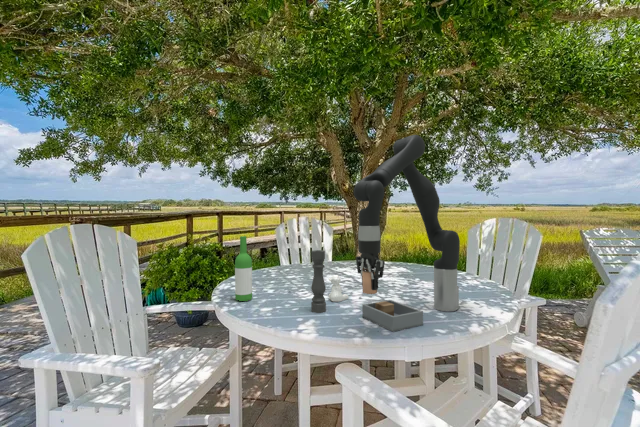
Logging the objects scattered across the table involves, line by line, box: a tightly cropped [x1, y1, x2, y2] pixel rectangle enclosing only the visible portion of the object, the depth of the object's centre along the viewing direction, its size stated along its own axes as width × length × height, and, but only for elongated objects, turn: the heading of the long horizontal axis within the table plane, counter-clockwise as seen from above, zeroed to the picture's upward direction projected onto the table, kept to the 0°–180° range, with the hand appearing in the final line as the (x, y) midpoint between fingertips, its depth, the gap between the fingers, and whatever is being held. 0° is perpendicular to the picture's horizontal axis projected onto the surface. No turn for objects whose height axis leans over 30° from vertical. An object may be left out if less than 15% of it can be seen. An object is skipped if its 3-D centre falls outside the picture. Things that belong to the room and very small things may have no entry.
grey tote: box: [361, 299, 424, 333], centre depth 125 cm, size 14×18×5 cm
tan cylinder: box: [361, 270, 378, 295], centre depth 114 cm, size 5×5×7 cm
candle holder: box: [310, 249, 327, 314], centre depth 139 cm, size 6×6×25 cm
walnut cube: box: [376, 300, 394, 316], centre depth 129 cm, size 5×5×5 cm
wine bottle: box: [234, 235, 253, 302], centre depth 156 cm, size 8×8×30 cm
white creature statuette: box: [328, 274, 349, 303], centre depth 155 cm, size 10×9×12 cm
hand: (369, 287), depth 114 cm, fingers closed on tan cylinder, 5 cm apart
